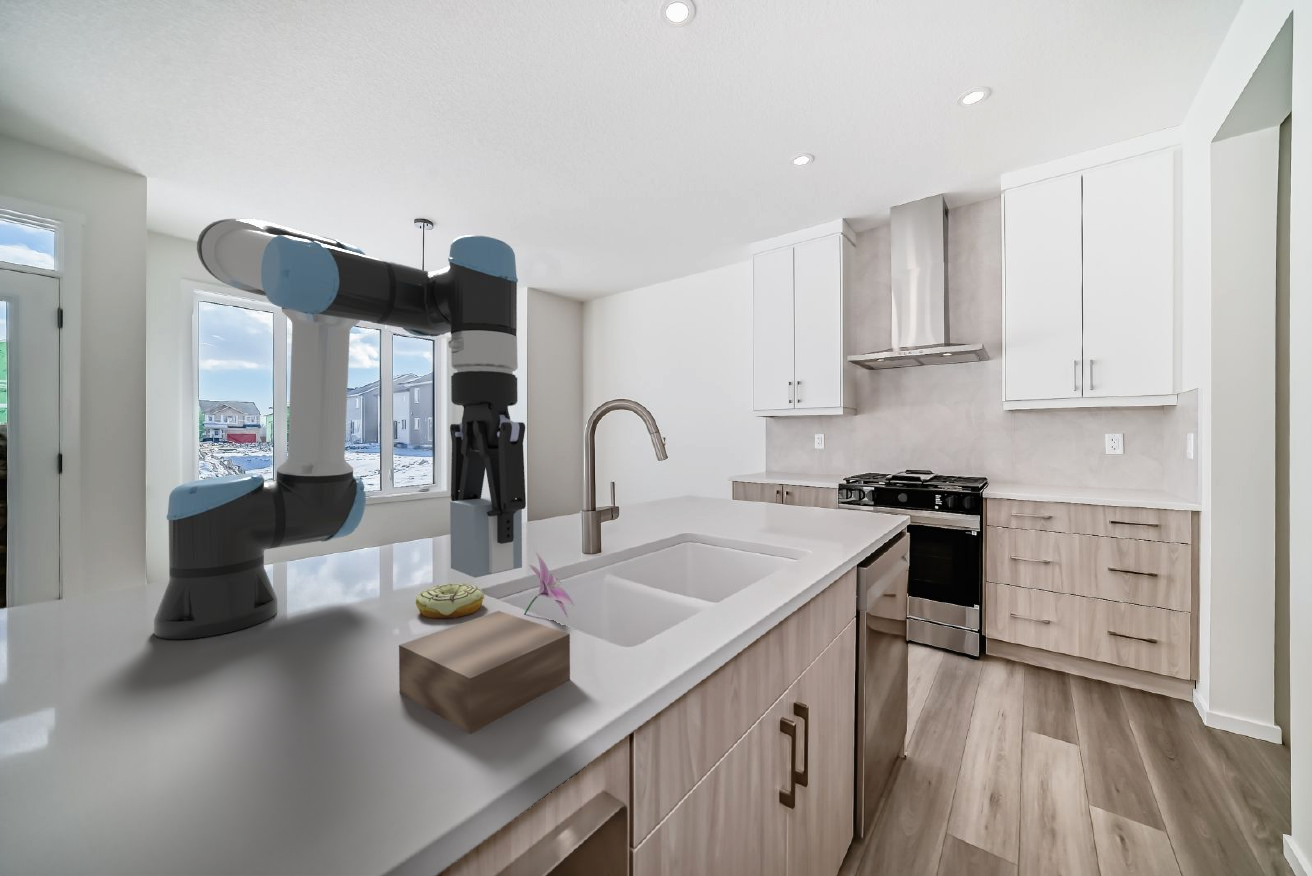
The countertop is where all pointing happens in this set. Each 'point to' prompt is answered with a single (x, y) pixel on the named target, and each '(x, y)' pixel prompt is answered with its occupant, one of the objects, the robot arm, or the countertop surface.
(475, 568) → the slate block
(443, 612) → the decorated donut
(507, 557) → the robot arm
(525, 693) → the walnut block
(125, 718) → the countertop surface
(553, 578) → the lily
